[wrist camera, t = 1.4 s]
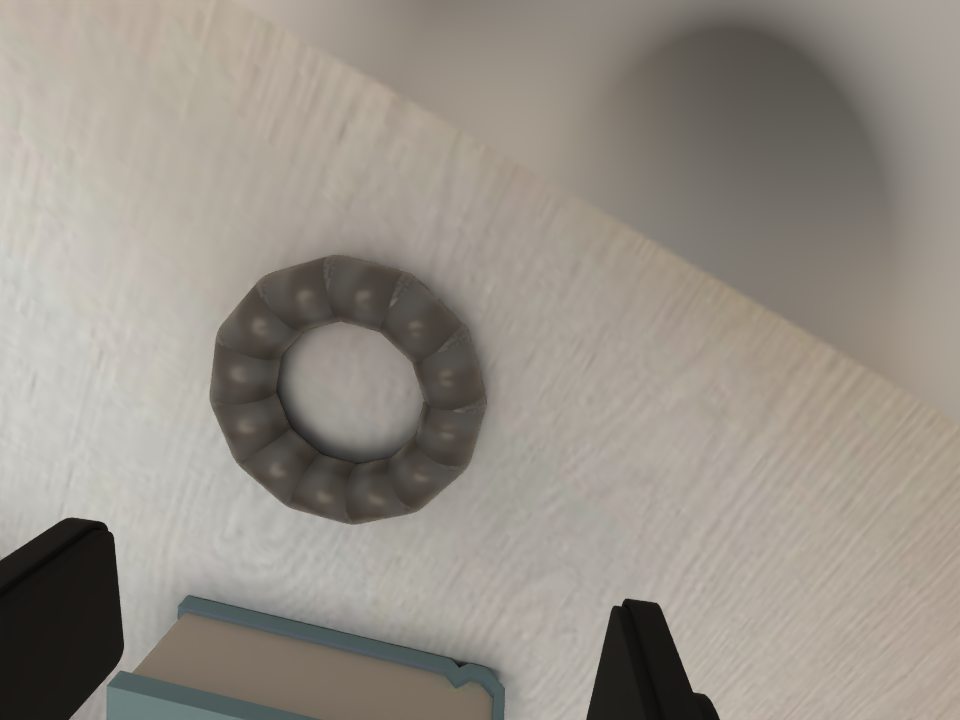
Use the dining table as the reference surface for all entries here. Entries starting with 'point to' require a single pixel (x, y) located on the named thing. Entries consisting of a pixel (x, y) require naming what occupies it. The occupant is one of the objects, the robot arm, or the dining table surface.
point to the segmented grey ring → (373, 305)
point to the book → (293, 675)
